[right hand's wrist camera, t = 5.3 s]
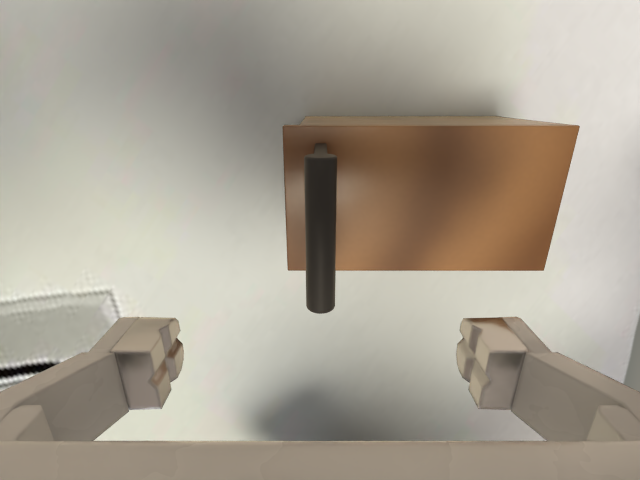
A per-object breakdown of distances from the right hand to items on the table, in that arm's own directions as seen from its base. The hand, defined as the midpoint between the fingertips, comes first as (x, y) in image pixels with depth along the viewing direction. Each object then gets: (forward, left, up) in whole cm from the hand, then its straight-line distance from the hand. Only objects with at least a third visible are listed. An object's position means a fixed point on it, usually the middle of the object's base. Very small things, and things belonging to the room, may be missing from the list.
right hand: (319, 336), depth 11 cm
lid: (+5, +5, -15) cm, 16 cm away
